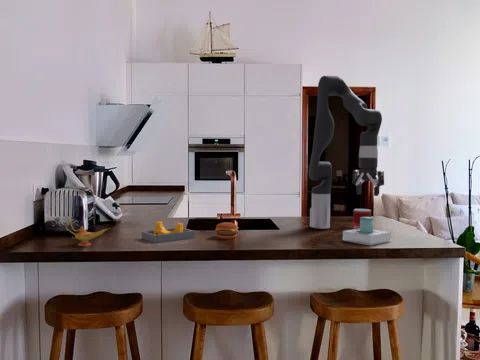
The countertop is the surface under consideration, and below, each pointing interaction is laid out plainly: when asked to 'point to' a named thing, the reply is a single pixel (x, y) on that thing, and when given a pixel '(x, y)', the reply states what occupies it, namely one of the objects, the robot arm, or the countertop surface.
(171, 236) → the tray
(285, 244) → the countertop surface
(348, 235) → the housing
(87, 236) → the magic lamp
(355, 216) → the canned food
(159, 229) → the pipe clamp
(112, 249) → the countertop surface
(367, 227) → the teal cylinder
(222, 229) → the hamburger
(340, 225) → the countertop surface
